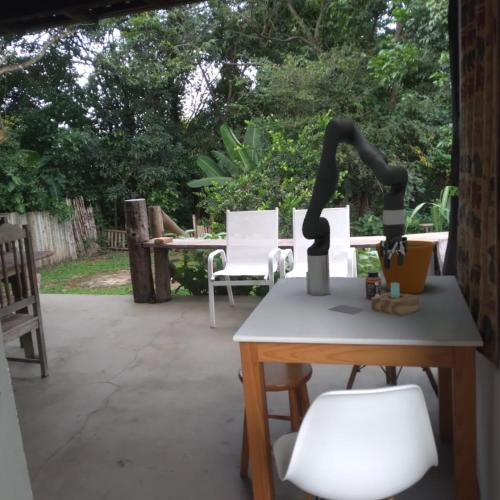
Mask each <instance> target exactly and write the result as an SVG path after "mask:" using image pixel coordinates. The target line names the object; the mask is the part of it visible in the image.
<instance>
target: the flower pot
mask: <svg viewBox="0 0 500 500" xmlns="http://www.w3.org/2000/svg"><path fill="white" fill-rule="evenodd" d="M403 247H404V246H403ZM434 248H435V243H434V242H432V241H427V240H414V239H413V240H409V239H407V249H408V252H407V253H405V255H404V265H403V266H399V265H397V255H398V254H397V252H396V251H394V253H393V254H392V255H391V258H390V259H391V269H389V270H388V269H384V258H381V257H380V242H378V243H375V250H376V253H377V255H378V259H379V262H380V267H381V270H382V274H383V277H384V280H385V284H386V288H387V290H388V291H389V292H391V283H399V293H401V294H419V293H422V292H424V289H425V284H426V281H427V277H428V272H429V268H430V264H431V260H432V256H433V252H434ZM404 250H405V247H404ZM383 254H384V251H383ZM388 254H389V253H388Z"/></svg>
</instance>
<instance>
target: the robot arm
mask: <svg viewBox="0 0 500 500" xmlns="http://www.w3.org/2000/svg"><path fill="white" fill-rule="evenodd" d="M322 141H323V143H322V149H321V150H322V151H321V155H320V160H319V164H318V168H317V172H316V175H315V179H314V180H315V181H314V183H313V187H312V188H313V189H312V193H311V195H310V196H311V197H310V200H309V204H308V207H307V210H306V212H305V216H304V217H303V222H302V225H301V233H302V236H303V238H305V239H306V240H308V241H309V240H310V241H311V240H313V243H312V244H311V245H310V246H309V247H307V249H306V261H307V271H306V272H305V274H306V276H305V277H306V293H307V295H311V296H316V297H317V296H318V297H319V296H320V297H321V296H328V295H329V294H331V284H330V283H331V281H330V280H331V279H330V275H331V274H330V258H329V255H330V254H329V253H330V247H331V224H330V222H329V220H328V219H327V217H324V216H321V215H322V212H323V210H324V209H325V208H326V206H327V205H328V203H329V202H330V201H331V200H332V198H333V197H334V195H335V194H336V191H337V187H338V184H339V181H340V171H339V167H338V162H337V157H336V156H337V150H338V147H339V144H349V145H350V146H352V147H354V149H356V151H357V155H358V157H359V159H360V161H361V162H362V163H363V164H364V165H365V166H366V167H367V168H368V169H370V170H371V171H372V173H373V175H374V177H375V179H376V180H377V181H378V182H379V184H381V185H383V186H385V187H390V189H389V192H388V193H385V194H384V195H383V197H382V198H383V199H382V201H383V203H382V209H383V210H382V211H383V212H382V236H384V237H385V240H380V242H379V243H380V257H381V258H384V269H388V270H389V269H391V259H390V258H391V255H392V254H393V253H394V251H396V252H397V254H398V255H397V265H399V266H403V265H404V255H405V253H407V252H408V249H407V240H408V237H407V236H405V234H406V230H405V229H406V228H405V227H406V225H405V223H406V222H405V221H406V220H405V219H406V218H405V217H406V216H405V201H404V200H405V199H404V198H405V195H406V191H407V187H408V183H409V173H408V170H407V168H406V167H405V166H403V165H389V163H390V162H389V158H388V157H387V156H386V155H385V154H384V153H383V152H382V151H381V150H379V149H378V148H377V147H376V146H375V145H374V144H373V143H371V141H370V140H369V138H367V137H366V135H365V133H363V132H362V130H361V129H360V128H359V126H358V125H357V124H356V123H355V122H354V121H353V120H352V119H349V118H331V119H330V120H329V121H328V122H327V124H326V127H325V129H324V135H323V140H322ZM403 246H404V247H405V250H404V247H403ZM383 251H384V254H383ZM388 253H389V254H388Z"/></svg>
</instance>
